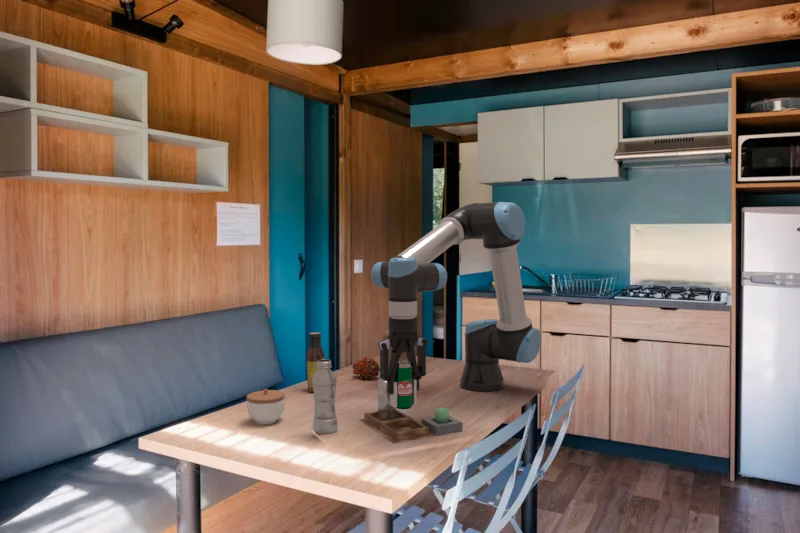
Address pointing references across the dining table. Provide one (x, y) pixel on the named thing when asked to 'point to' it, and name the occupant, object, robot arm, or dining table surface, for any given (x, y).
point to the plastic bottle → (324, 399)
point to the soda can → (404, 385)
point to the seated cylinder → (384, 403)
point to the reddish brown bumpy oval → (366, 368)
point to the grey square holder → (443, 426)
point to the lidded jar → (265, 406)
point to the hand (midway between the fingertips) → (403, 404)
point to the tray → (397, 427)
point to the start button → (441, 415)
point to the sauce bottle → (313, 357)
